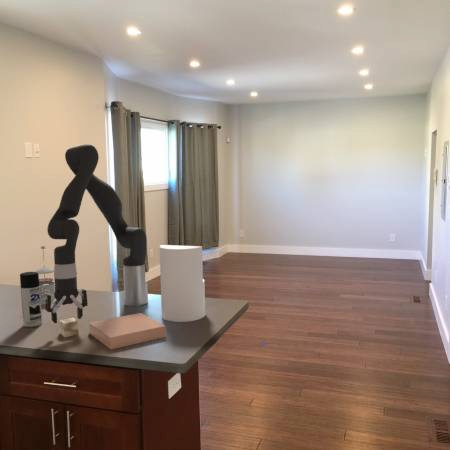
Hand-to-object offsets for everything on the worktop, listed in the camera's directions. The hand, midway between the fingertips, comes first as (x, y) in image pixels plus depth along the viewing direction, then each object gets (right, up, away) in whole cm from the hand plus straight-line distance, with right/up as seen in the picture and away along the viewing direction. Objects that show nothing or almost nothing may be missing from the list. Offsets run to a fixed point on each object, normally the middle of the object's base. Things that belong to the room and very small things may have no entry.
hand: (67, 320), depth 180 cm
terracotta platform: (+22, -5, -2) cm, 22 cm away
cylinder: (+40, -2, +21) cm, 45 cm away
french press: (-25, 0, +46) cm, 52 cm away
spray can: (-17, -4, +12) cm, 21 cm away
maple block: (0, -5, +1) cm, 5 cm away
